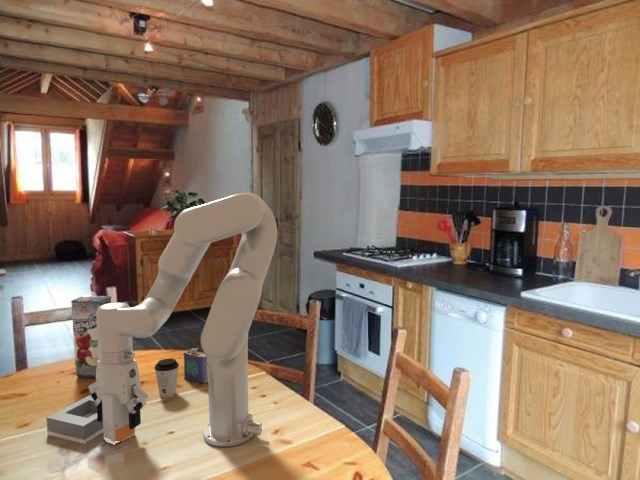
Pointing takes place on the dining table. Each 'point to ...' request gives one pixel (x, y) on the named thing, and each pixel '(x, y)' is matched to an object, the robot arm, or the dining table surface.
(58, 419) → the socket plate
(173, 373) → the coffee cup
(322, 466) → the dining table surface
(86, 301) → the juice carton
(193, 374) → the flask
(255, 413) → the dining table surface
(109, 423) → the skincare box
